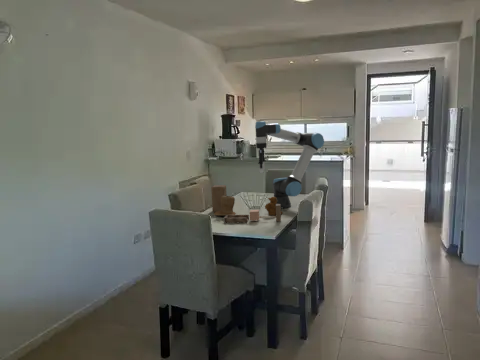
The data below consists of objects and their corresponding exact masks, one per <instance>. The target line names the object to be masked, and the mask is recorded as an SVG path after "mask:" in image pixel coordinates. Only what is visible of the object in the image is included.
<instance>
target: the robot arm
mask: <svg viewBox="0 0 480 360" xmlns="http://www.w3.org/2000/svg"><path fill="white" fill-rule="evenodd" d="M267 136H270V137H274V138H277V139H281V140H284V141H288V142H292V143H293V144H294V145H297V146H298V145H299V146H301V147H303V150H302V151H301V154H300V156H299V158H298V159H297V162H296V164H295V167H294V168H293V170H292V172H291V174H290V175H288V176H287V177H279V178H274V179H273V182H272V183H273V184H272V185H273V197H276V198H277V200H278V201H277V203H276V204H280V206H281V209H287V208H288V209H289V208H290V207H291V206H292V203H291V200H290V197H297V196H299V194H300V193H301V191H302V179H303V177H304V174H305V172H306V170H307V168H308V166H309V164H310V162H311V161H312V158H313V155H314V154H316V153H317V152H318V151H319V149H320V148H322V147H323V146H324V144H325V139H324V136H323V135H322V133H319V132H298V131H297V132H294V131H291V130H287V129H284V128H281V125H280V124H279V123H275V122H274V123H267V122H266V121H256V122H255V142H256V144H255V147H256V149H259V150H258V162H257V164H259V167H258V168H259V173H260V174H262V173H264V171H266V159H265V158H266V157H265V149H266V148H267V146H268V145H267Z"/></svg>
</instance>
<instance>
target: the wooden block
mask: <svg viewBox="0 0 480 360" xmlns="http://www.w3.org/2000/svg"><path fill="white" fill-rule="evenodd" d="M210 189H211V190H210V191H211V204H212V205H211V207H212V209H211V210H212V212H213V213H215V212H216V211H221V210H222V206H221V197H222V196H228V195H227V185H226V184H214V185H213V186H211V188H210Z"/></svg>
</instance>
